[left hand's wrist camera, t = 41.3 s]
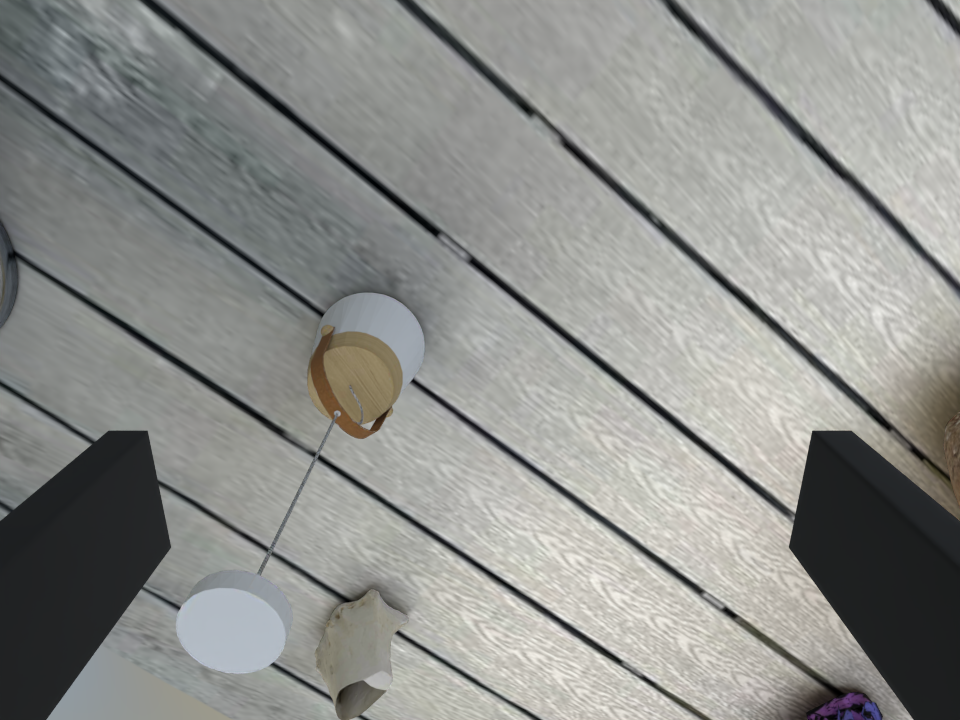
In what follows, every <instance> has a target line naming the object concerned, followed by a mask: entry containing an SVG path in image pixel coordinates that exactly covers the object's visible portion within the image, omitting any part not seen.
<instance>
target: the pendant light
mask: <svg viewBox="0 0 960 720" xmlns="http://www.w3.org/2000/svg"><path fill="white" fill-rule="evenodd" d="M424 352H425V342H424V336H423V332H422V329H421V327H420V324H419V323H418V321H417V319H416V318H415V316H414V315H413V314H412V312H411V311H410V310H409V309H408V308H407V307H406V306H404V305H403V304H402V303H400V302H399V301H397V300H396V299H394V298H391V297H389V296H387V295H383V294H377V293H357V294H353V295H350V296H347V297H344V298H343V299H341V300H339V301H337V302H336V303H335V304H333V305H332V306H331V307H330V308H329V309H328V310H327V312H326V313H325V314H324V316H323V318H322V319H321V321H320V324H319V327H318V330H317V334H316V338H315V342H314V346H313V350H312V354H311V358H310V362H309V366H308V384H307V385H308V390H309V395H310V397H311V399H312V401H313V403H314V405H315V406H316V407H317V408H318V410H319V411H320V412H321V413H322V414H323V415H325V416H326V417H328V418H329V419H331V420H333V421H332V423H331V425H330V427H329V429H328V431H327V433H326V435H325V437H324V439H323V441H322V443H321V445H320V447H319V449H318V451H317V453H316V455H315V457H314V459H313V461H312V463H311V466H310V468H309V470H308V472H307V474H306V476H305V478H304V480H303V482H302V484H301V486H300V488H299V490H298V492H297V494H296V496H295V498H294V500H293V502H292V504H291V506H290V508H289V510H288V512H287V514H286V516H285V518H284V520H283V522H282V524H281V526H280V528H279V530H278V533H277V535H276V537H275V539H274V541H273V543H272V545H271V547H270V549H269V551H268V553H267V555H266V557H265V559H264V561H263V563H262V565H261V567H260V569H259V571H258V573H257V574H254V573H251V572H247V571H240V570H228V571H220V572H217V573H214V574H211V575H208V576H207V577H205V578H204V579H202V580H201V581H199V582H198V583H197V584H196V585H195V587H194V588H193V589H192V591H191V592H190V594H189V596H188V597H187V599H186V600H185V602H184V604H183V605H182V607H181V609H180V610H179V612H178V615H177V619H176V631H177V635H178V638H179V640H180V642H181V644H182V646H183V648H184V649H185V650H186V651H187V652H188V653H189V654H190V655H191V656H192V657H193V658H194V659H196V660H197V661H198V662H200V663H201V664H203V665H205V666H207V667H209V668H212V669H215V670H218V671H221V672H226V673H239V674H243V673H249V672H255V671H258V670H260V669H263V668H265V667H267V666H269V665H270V664H271V663H273V662H274V661H275V660H276V659H277V658H278V657H279V655H280V654H281V652H282V650H283V648H284V645H285V643H286V640H287V637H288V635H289V632H290V629H291V625H292V621H293V614H292V609H291V605H290V603H289V601H288V599H287V598H286V596H285V594H284V593H283V592H282V591H281V590H280V589H279V587H278V586H276V585H275V584H274V583H272V582H271V581H270V580H268V579H266V578H264V577H262V576H261V573H262V571H263V569H264V567H265V565H266V563H267V561H268V559H269V557H270V555H271V553H272V551H273V549H274V547H275V545H276V542H277V540H278V538H279V536H280V534H281V532H282V530H283V528H284V526H285V524H286V522H287V520H288V518H289V516H290V514H291V512H292V509H293V507H294V505H295V503H296V501H297V499H298V497H299V495H300V493H301V491H302V489H303V487H304V485H305V483H306V481H307V478H308V476H309V474H310V472H311V470H312V468H313V466H314V464H315V462H316V460H317V458H318V456H319V454H320V452H321V450H322V447H323V445H324V443H325V441H326V439H327V437H328V435H329V433H330V431H331V429H332V427H333V425H334V423H336V424H337V425H338V426H339V427H340V428H341V429H342V430H343V431H345V432H346V433H347V434H349V435H351V436H352V437H355V438H358V439H364V438H366V437H368V436H370V435H371V434H373V433H375V432H377V431H378V430H379V429H380V428H381V426H382V424H383V422H384V420H385V418H386V417H389V416H391V415H392V413H393V409H392V405H393V404H394V403H395V402H396V400H397V398H398V397H399V396H400V394H401V393H402V392H403V390H404V389H405V388H406V387H407V385H408V384H409V383H410V381H411V380H412V379H413V378H414V376H415V375H416V373H417V372H418V370H419V369H420V366H421V364H422V361H423V358H424ZM375 419H376V421H375V422H374V424H373V426H372V427H371V429H370V430H367V429H365V428H363V427H362V426H360V425H361V424H365V423H369V422H371V421H373V420H375Z"/></svg>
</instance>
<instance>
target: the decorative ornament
mask: <svg viewBox="0 0 960 720" xmlns="http://www.w3.org/2000/svg"><path fill="white" fill-rule="evenodd" d="M858 707H863V710H862V711H860V710H857V709H853V708H858ZM865 712H866V713H865ZM806 714H807V719H808V720H882V717H883V716H882V714H881V712H880V710H879V708H878V706H877V704H876V703H874V702H872V701H871V700H870V699H869V698H868V697H867V695H866V694H863V693H858V692H853V693H848V694H844V695H840V696H838V697H836V698H834V699H833V700H831V701H829V702H827V703H825V704H823V705H821V706H819V707H817V708H815V709H813V710H811V711H809V712H807V713H806Z"/></svg>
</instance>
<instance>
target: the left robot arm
mask: <svg viewBox="0 0 960 720" xmlns="http://www.w3.org/2000/svg"><path fill="white" fill-rule="evenodd" d="M16 291H17V266H16V261H15V256H14V252H13V249H12V246H11V243H10V240H9V238H8V235H7V233H6V231H5V229H4V227H3V225H2V224H1V222H0V328H1V326H2V325H3V324H4V322H5V321H6V320H7V318H8V316H9V314H10V312H11V310H12V307H13V305H14V301H15V297H16ZM170 548H171V544H170V540H169V535H168V530H167V525H166V520H165V515H164V510H163V505H162V500H161V495H160V490H159V485H158V480H157V475H156V470H155V465H154V460H153V455H152V450H151V445H150V440H149V436H148V431H108V432H107V433H105V434H104V435H103V436H102V437H101V438H99V439H98V440H97V441H96V442H95V443H93V444H92V445H91V446H90V447H89V448H87V449H86V450H85V451H84V452H83V453H81V454H80V455H79V456H78V457H77V458H76V459H74V460H73V461H72V462H71V463H70V464H68V465H67V466H66V467H65V468H64V469H62V470H61V471H60V472H59V473H58V474H56V475H55V476H54V477H53V478H52V479H50V480H49V481H48V482H47V483H46V484H44V485H43V486H42V487H41V488H40V489H38V490H37V491H36V492H35V493H34V494H32V495H31V496H30V497H29V498H28V499H26V500H25V501H24V502H23V503H22V504H20V505H19V506H18V507H17V508H16V509H14V510H13V511H12V512H11V513H10V514H8V515H7V516H6V517H5V518H4V519H2V520H1V521H0V720H46V719H47V718H48V716H49V715H50V714H51V712H52V711H53V710H54V708H55V707H56V705H57V704H58V703H59V701H60V700H61V699H62V697H63V696H64V694H65V693H66V692H67V690H68V689H69V688H70V686H71V685H72V683H73V682H74V681H75V679H76V678H77V676H78V675H79V674H80V672H81V671H82V670H83V668H84V667H85V665H86V664H87V663H88V661H89V660H90V659H91V657H92V656H93V654H94V653H95V652H96V650H97V649H98V648H99V646H100V645H101V643H102V642H103V641H104V639H105V638H106V636H107V635H108V634H109V632H110V631H111V630H112V628H113V627H114V625H115V624H116V623H117V621H118V620H119V619H120V617H121V616H122V614H123V613H124V612H125V610H126V609H127V607H128V606H129V605H130V603H131V602H132V601H133V599H134V598H135V596H136V595H137V594H138V592H139V591H140V590H141V588H142V587H143V585H144V584H145V583H146V581H147V580H148V579H149V577H150V576H151V574H152V573H153V572H154V570H155V569H156V567H157V566H158V565H159V563H160V562H161V561H162V559H163V558H164V556H165V555H166V554H167V552H168V551H169V550H170ZM789 548H790V550H791V551H792V552H793V554H794V555H795V556H796V558H797V559H798V561H799V562H800V563H801V565H802V566H803V567H804V569H805V570H806V572H807V573H808V574H809V576H810V577H811V579H812V580H813V581H814V583H815V584H816V585H817V587H818V588H819V590H820V591H821V592H822V594H823V595H824V596H825V598H826V599H827V601H828V602H829V603H830V605H831V606H832V607H833V609H834V610H835V612H836V613H837V614H838V616H839V617H840V619H841V620H842V621H843V623H844V624H845V625H846V627H847V628H848V630H849V631H850V632H851V634H852V635H853V636H854V638H855V639H856V641H857V642H858V643H859V645H860V646H861V648H862V649H863V650H864V652H865V653H866V654H867V656H868V657H869V659H870V660H871V661H872V663H873V664H874V665H875V667H876V668H877V670H878V671H879V672H880V674H881V675H882V676H883V678H884V679H885V681H886V682H887V683H888V685H889V686H890V688H891V689H892V690H893V692H894V693H895V694H896V696H897V697H898V699H899V700H900V701H901V703H902V704H903V705H904V707H905V708H906V710H907V711H908V712H909V714H910V715H911V717H912V718H913V719H914V720H960V521H959V520H958V519H956V518H955V517H954V516H953V515H952V514H950V513H949V512H948V511H947V510H946V509H944V508H943V507H942V506H941V505H940V504H938V503H937V502H936V501H935V500H934V499H932V498H931V497H930V496H929V495H928V494H926V493H925V492H924V491H923V490H922V489H920V488H919V487H918V486H917V485H916V484H914V483H913V482H912V481H911V480H910V479H908V478H907V477H906V476H905V475H904V474H902V473H901V472H900V471H899V470H898V469H896V468H895V467H894V466H893V465H892V464H890V463H889V462H888V461H887V460H886V459H884V458H883V457H882V456H881V455H880V454H879V453H877V452H876V451H875V450H874V449H873V448H871V447H870V446H869V445H868V444H867V443H865V442H864V441H863V440H862V439H861V438H859V437H858V436H857V435H856V434H855V433H853V432H852V431H812V436H811V440H810V445H809V450H808V455H807V460H806V465H805V470H804V475H803V480H802V485H801V490H800V495H799V500H798V505H797V510H796V515H795V520H794V525H793V530H792V535H791V540H790V544H789Z"/></svg>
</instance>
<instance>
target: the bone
mask: <svg viewBox="0 0 960 720" xmlns="http://www.w3.org/2000/svg"><path fill="white" fill-rule="evenodd" d="M408 621H409V617H408V616H407V615H406V614H403V613H402V612H400V611H398V610H395V609H393V608H391V607H390V606H388V605H387V604H386V603H385V602H384V601H383V599H382V598H381V596H380V594H379V592H378V591H376V590H374V589H371V590H369V591H368V592H367V593H366V595H365V596H364V597H362V598H361V599H359V600H357V601H354V602H349V603H343V604H340V605H339V606H337V607H336V608H335V610H334V611H333V613H332V615H331V617H330V620H329V621H328V622H327V623H326V628H325V633H324V635H323V638H322V639H321V641H320V644H319V646H318V647H317V649H316V651H315V657H316V664H317V667H316V671H317V672H319V673H320V674H321V676H322V678H323V680H324V681H325V683H326V684H327V686H328V688H329V692H330V695H331V697H332V699H333V702H334V705H335V710H336V713H337V716H338V718H339V719H341V720H349V719H352V718H355V717H357V716H359V715H360V714H362V713H363V712H364V711H365V710H367V709H368V708H369V707H370V706H371V705H372V704H373V703H374V702H375V701H376V700H378V699H379V698H380V697H381V696H382V695H383V694H384V693H385V692H386V691H387V690H388V689H389V688H390V686H391V684H392V680H393V675H392V669H391V661H390V646H391V640H392V636H393V634H394V633H395V632H396V631H398V630H399V629H400V628H401V627H403V626H404V625H405V624H406V623H407V622H408Z"/></svg>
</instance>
